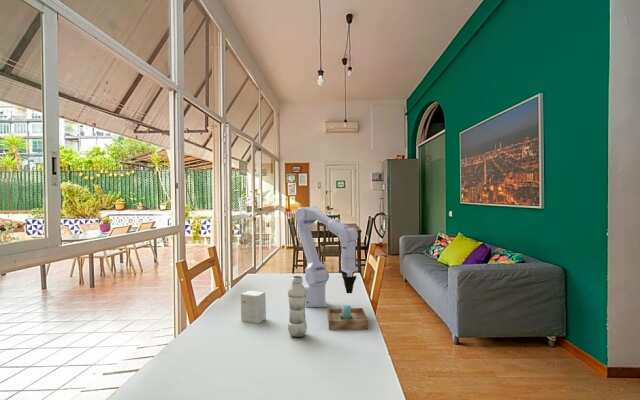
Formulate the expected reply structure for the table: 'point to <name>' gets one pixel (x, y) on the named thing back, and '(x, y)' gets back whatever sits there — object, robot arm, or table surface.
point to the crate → (356, 320)
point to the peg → (346, 312)
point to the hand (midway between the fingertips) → (348, 290)
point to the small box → (253, 306)
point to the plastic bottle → (297, 308)
